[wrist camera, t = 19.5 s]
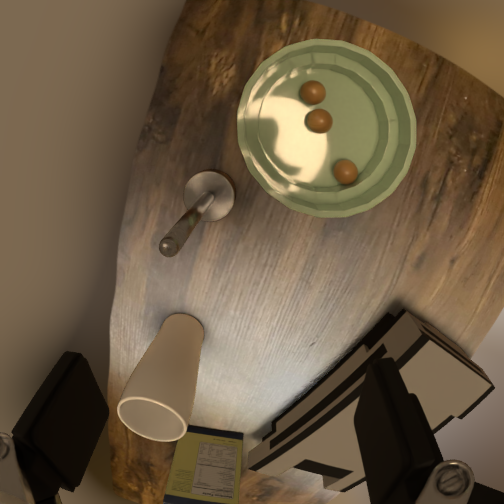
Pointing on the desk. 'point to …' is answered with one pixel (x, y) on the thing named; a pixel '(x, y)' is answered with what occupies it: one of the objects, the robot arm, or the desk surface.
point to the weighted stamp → (200, 207)
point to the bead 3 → (345, 172)
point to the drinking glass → (164, 382)
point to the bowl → (337, 138)
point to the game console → (348, 392)
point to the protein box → (205, 468)
